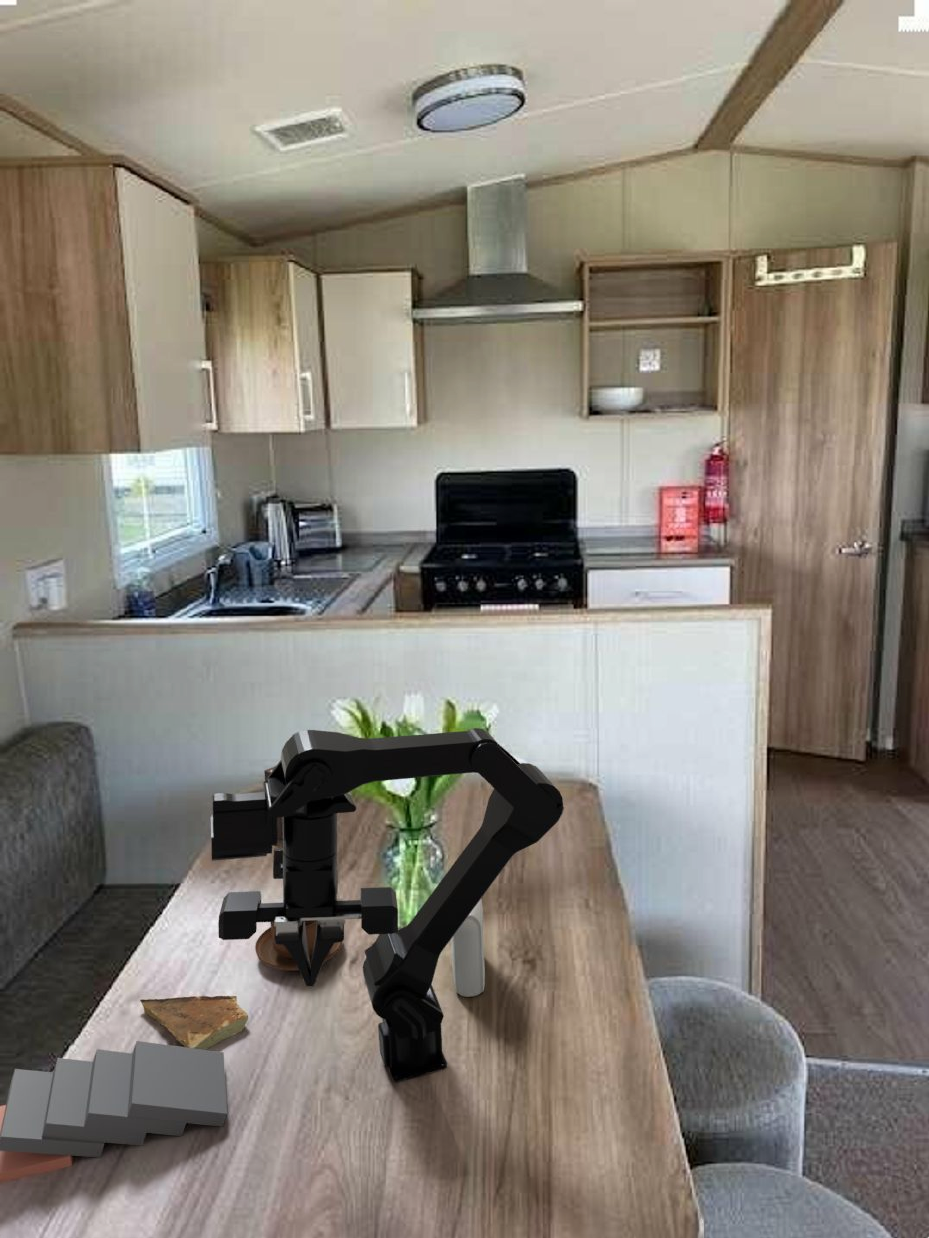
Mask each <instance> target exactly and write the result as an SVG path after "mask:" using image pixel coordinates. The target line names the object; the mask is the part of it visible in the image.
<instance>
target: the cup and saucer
mask: <svg viewBox="0 0 929 1238" xmlns="http://www.w3.org/2000/svg"><path fill="white" fill-rule="evenodd" d="M269 923H270V927H269V928H267V929H266V930H265V931H263V932H262V933H261V934H260V935H259V937H258V938H257V940H256V943H255V947H254V949H255V954H256V955H257V958H258V959H259V960H260V962H261V963H263V964H264V965H267V966H268V967H270V968H273V969H275V970H280V971H286V972H295V971H296V972H297V971H299V969H298V967H297V965H296V963H295V961H294V959H293V958H292V956H291V955H290V953H289V952H288V950H287V949H286V947H285V946H284V945H278V944H275V942H274V938H275V931H276V926H274V922H269ZM316 925H317V920H312V921H305V929H306V938H307V946H308V954H309V961H310V969H311V961H312V954H313V947H314V940H315V933H316ZM342 943H343V941H342V942H337V943H334V945H333V946H332V948H331V950H330V951H329V953H328V955H327V956H326V958H325V960H324V962H323V964H324V963H326V962H327V961H328V960H330V959H331V958H332V957H333V956H335V955H336V953H337V952H338V951H340V948H341V946H342Z"/></svg>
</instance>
